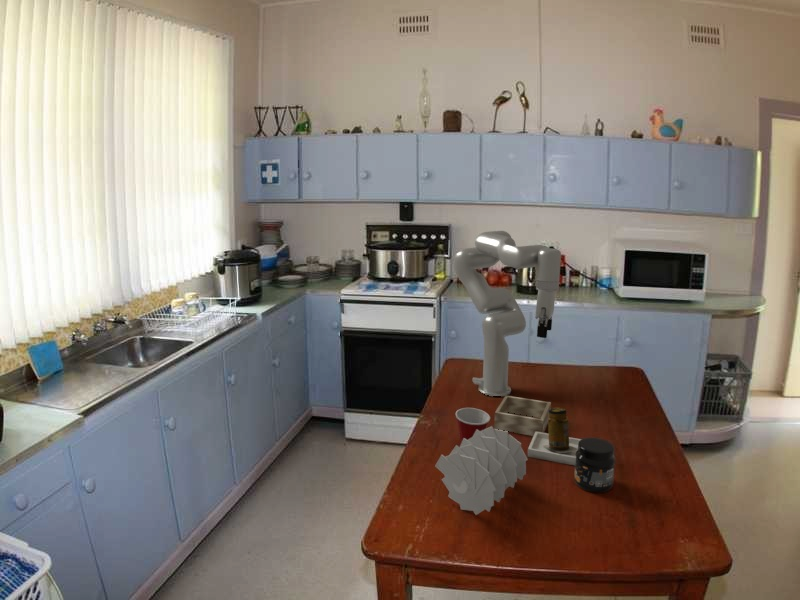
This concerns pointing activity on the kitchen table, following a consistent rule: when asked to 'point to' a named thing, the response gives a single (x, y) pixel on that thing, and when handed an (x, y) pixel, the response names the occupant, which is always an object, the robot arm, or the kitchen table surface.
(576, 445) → the tray
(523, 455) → the spiral staircase
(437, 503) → the kitchen table surface
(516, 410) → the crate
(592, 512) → the kitchen table surface
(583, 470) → the supplement container
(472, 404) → the kitchen table surface
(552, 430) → the condiment
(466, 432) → the plastic cup
